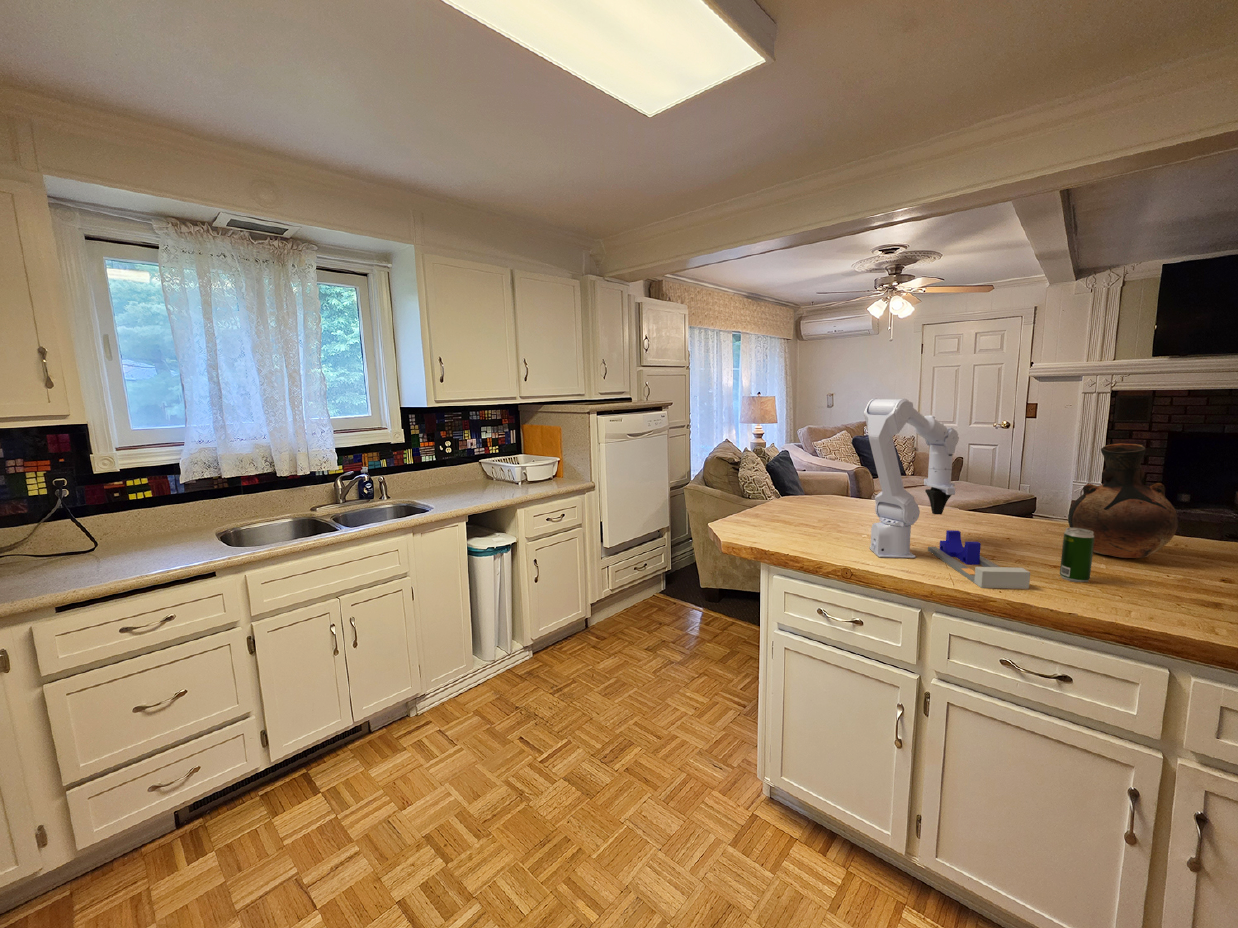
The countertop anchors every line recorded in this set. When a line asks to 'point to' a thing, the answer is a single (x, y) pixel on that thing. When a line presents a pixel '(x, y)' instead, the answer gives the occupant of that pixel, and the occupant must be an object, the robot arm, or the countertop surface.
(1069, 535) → the beer can
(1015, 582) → the cable guide
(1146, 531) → the ceramic vessel
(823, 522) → the countertop surface
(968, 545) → the cable clip
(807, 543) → the countertop surface
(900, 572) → the countertop surface
